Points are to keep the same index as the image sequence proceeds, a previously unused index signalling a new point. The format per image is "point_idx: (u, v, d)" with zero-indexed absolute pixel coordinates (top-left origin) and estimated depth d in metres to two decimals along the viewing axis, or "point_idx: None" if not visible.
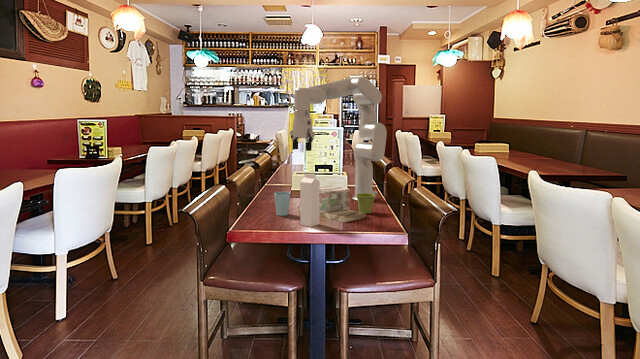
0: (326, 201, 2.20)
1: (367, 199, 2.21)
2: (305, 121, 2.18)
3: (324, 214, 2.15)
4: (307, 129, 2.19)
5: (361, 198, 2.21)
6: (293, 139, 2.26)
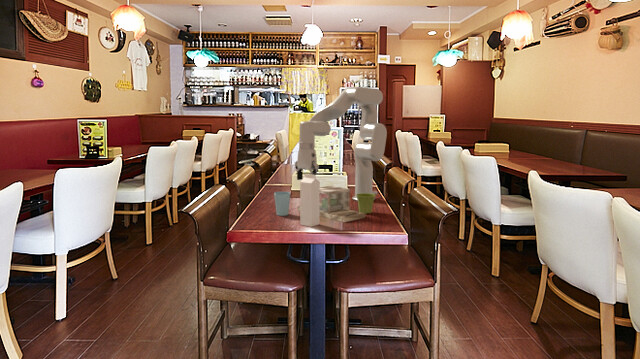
0: (326, 201, 2.20)
1: (367, 199, 2.21)
2: (309, 154, 2.26)
3: (324, 214, 2.15)
4: (311, 161, 2.26)
5: (361, 198, 2.21)
6: (298, 170, 2.34)
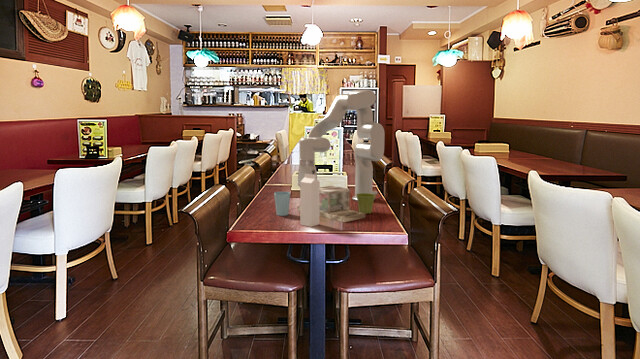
0: (326, 201, 2.20)
1: (367, 199, 2.21)
2: (310, 170, 2.27)
3: (324, 214, 2.15)
4: None
5: (361, 198, 2.21)
6: None
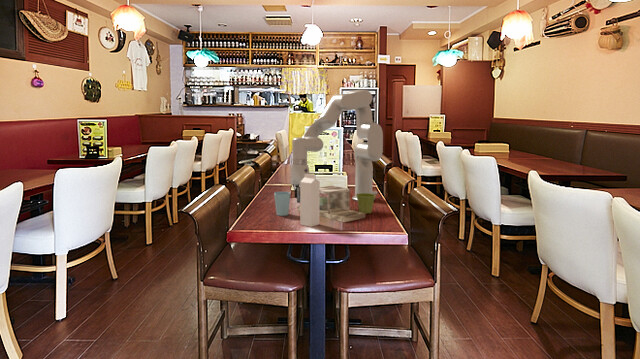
0: None
1: (367, 199, 2.21)
2: (302, 169, 2.31)
3: (324, 214, 2.15)
4: None
5: (361, 198, 2.21)
6: (295, 187, 2.38)
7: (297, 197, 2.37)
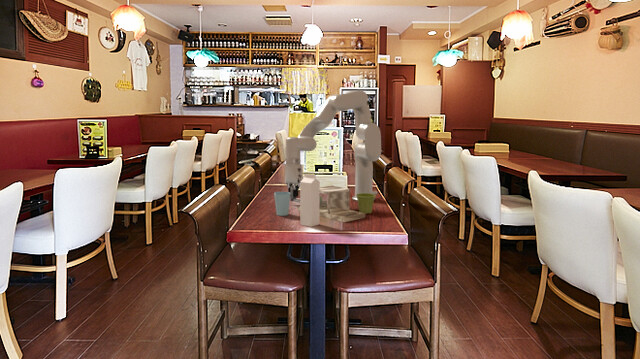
0: None
1: (367, 199, 2.21)
2: (296, 168, 2.35)
3: (324, 214, 2.15)
4: (298, 176, 2.36)
5: (361, 198, 2.21)
6: (288, 186, 2.41)
7: (290, 196, 2.41)
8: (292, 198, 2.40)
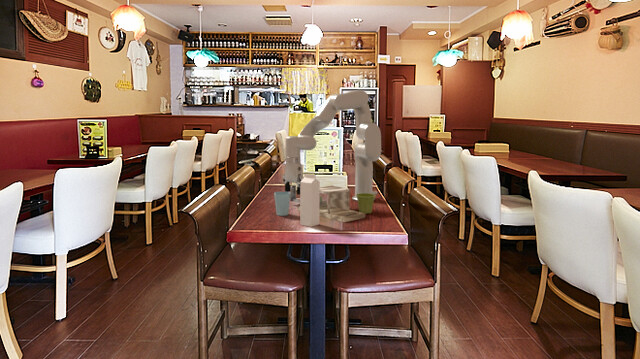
0: None
1: (367, 199, 2.21)
2: (296, 167, 2.35)
3: (324, 214, 2.15)
4: (298, 175, 2.36)
5: (361, 198, 2.21)
6: (285, 183, 2.43)
7: (290, 196, 2.41)
8: (292, 198, 2.40)
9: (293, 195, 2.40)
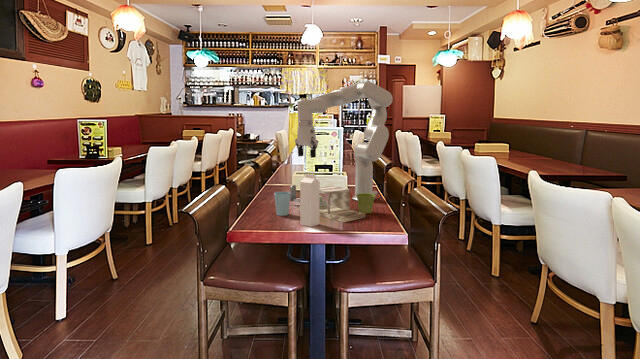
0: None
1: (367, 199, 2.21)
2: (308, 130, 2.35)
3: (324, 214, 2.15)
4: (311, 137, 2.35)
5: (361, 198, 2.21)
6: (298, 147, 2.43)
7: (290, 196, 2.41)
8: (292, 198, 2.40)
9: (293, 195, 2.40)
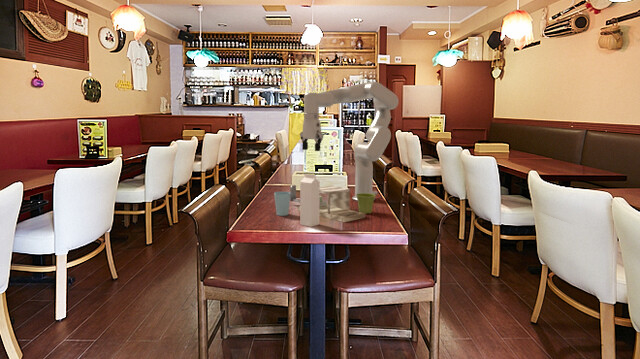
0: None
1: (367, 199, 2.21)
2: (314, 123, 2.35)
3: (324, 214, 2.15)
4: (316, 131, 2.36)
5: (361, 198, 2.21)
6: (303, 140, 2.43)
7: (290, 196, 2.41)
8: (292, 198, 2.40)
9: (293, 195, 2.40)
